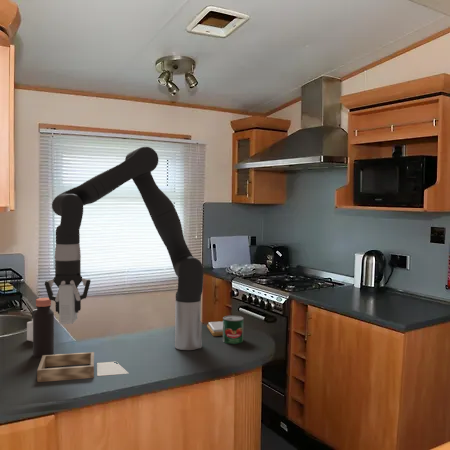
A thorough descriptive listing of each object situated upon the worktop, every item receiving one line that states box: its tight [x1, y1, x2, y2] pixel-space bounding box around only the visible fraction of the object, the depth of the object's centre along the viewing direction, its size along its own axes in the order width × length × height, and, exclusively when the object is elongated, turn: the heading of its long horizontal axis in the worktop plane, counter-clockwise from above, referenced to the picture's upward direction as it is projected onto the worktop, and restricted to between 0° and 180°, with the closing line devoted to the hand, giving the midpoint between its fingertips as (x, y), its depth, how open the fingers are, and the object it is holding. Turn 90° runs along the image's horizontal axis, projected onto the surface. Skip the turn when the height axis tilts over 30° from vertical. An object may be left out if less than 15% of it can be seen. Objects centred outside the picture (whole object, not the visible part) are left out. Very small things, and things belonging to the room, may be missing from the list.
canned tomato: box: [222, 315, 245, 345], centre depth 176 cm, size 8×8×11 cm
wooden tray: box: [36, 351, 95, 383], centre depth 144 cm, size 16×14×4 cm
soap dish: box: [206, 321, 223, 337], centre depth 189 cm, size 12×10×5 cm
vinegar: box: [32, 297, 55, 359], centre depth 160 cm, size 7×7×20 cm
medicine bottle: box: [26, 308, 37, 343], centre depth 179 cm, size 7×7×12 cm
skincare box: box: [58, 284, 78, 325], centre depth 144 cm, size 6×4×12 cm
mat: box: [96, 361, 129, 377], centre depth 149 cm, size 12×12×1 cm
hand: (68, 312), depth 144 cm, fingers closed on skincare box, 4 cm apart
